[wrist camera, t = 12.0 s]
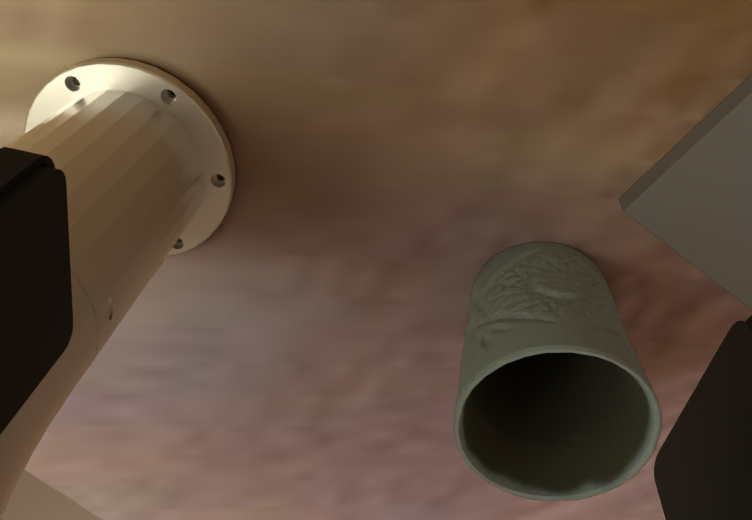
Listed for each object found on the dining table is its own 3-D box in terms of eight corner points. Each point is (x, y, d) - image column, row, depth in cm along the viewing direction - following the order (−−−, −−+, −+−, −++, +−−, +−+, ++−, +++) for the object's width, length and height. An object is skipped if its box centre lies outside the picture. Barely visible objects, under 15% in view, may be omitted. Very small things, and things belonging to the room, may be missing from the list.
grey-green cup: (520, 381, 49) (533, 527, 39) (423, 285, 46) (410, 417, 36) (651, 305, 45) (704, 447, 35) (554, 194, 42) (582, 314, 31)
